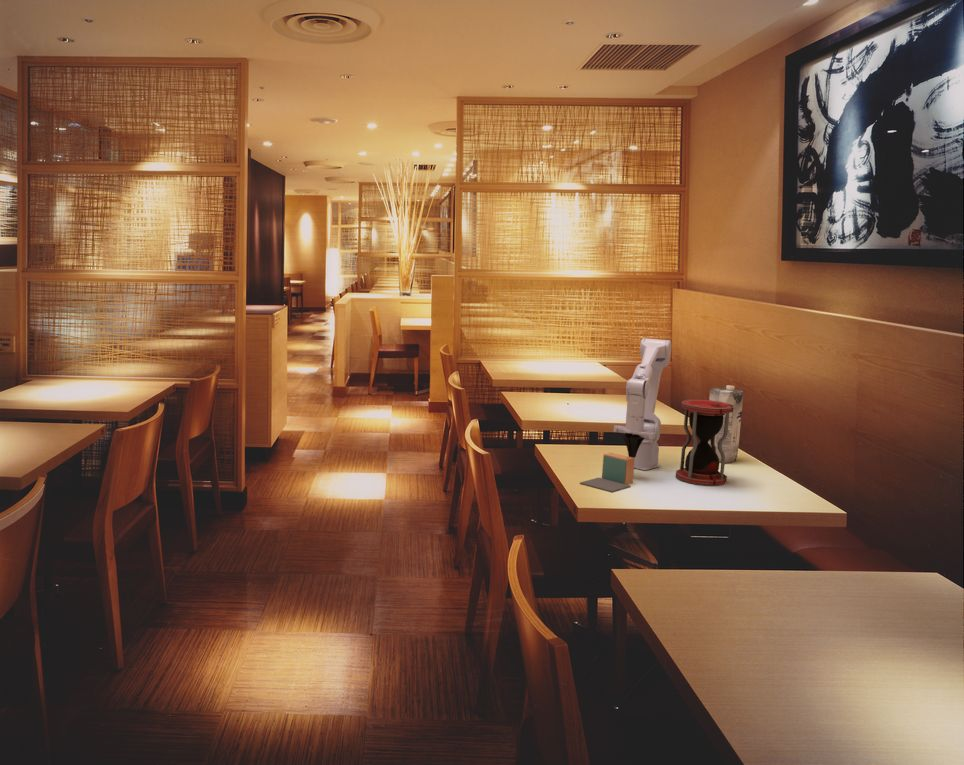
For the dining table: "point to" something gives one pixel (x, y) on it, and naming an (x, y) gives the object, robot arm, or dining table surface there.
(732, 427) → the juice carton
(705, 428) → the hourglass
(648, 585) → the dining table surface
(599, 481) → the charcoal mat
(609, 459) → the orange rectangular block
